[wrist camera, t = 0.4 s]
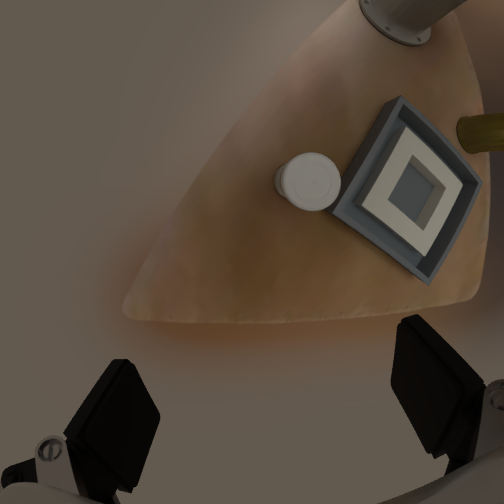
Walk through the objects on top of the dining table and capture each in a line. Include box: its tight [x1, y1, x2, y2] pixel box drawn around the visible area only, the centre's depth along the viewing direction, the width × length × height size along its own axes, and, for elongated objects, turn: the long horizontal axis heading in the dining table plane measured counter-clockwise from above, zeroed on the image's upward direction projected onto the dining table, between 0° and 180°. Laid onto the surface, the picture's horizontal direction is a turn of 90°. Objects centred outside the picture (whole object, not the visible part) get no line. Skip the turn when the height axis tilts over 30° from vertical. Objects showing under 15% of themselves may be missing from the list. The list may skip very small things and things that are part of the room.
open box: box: [324, 95, 483, 286], centre depth 30 cm, size 18×18×4 cm
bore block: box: [353, 127, 463, 257], centre depth 30 cm, size 12×12×3 cm
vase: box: [457, 113, 504, 154], centre depth 22 cm, size 6×6×14 cm
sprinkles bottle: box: [273, 152, 341, 211], centre depth 26 cm, size 5×5×14 cm
